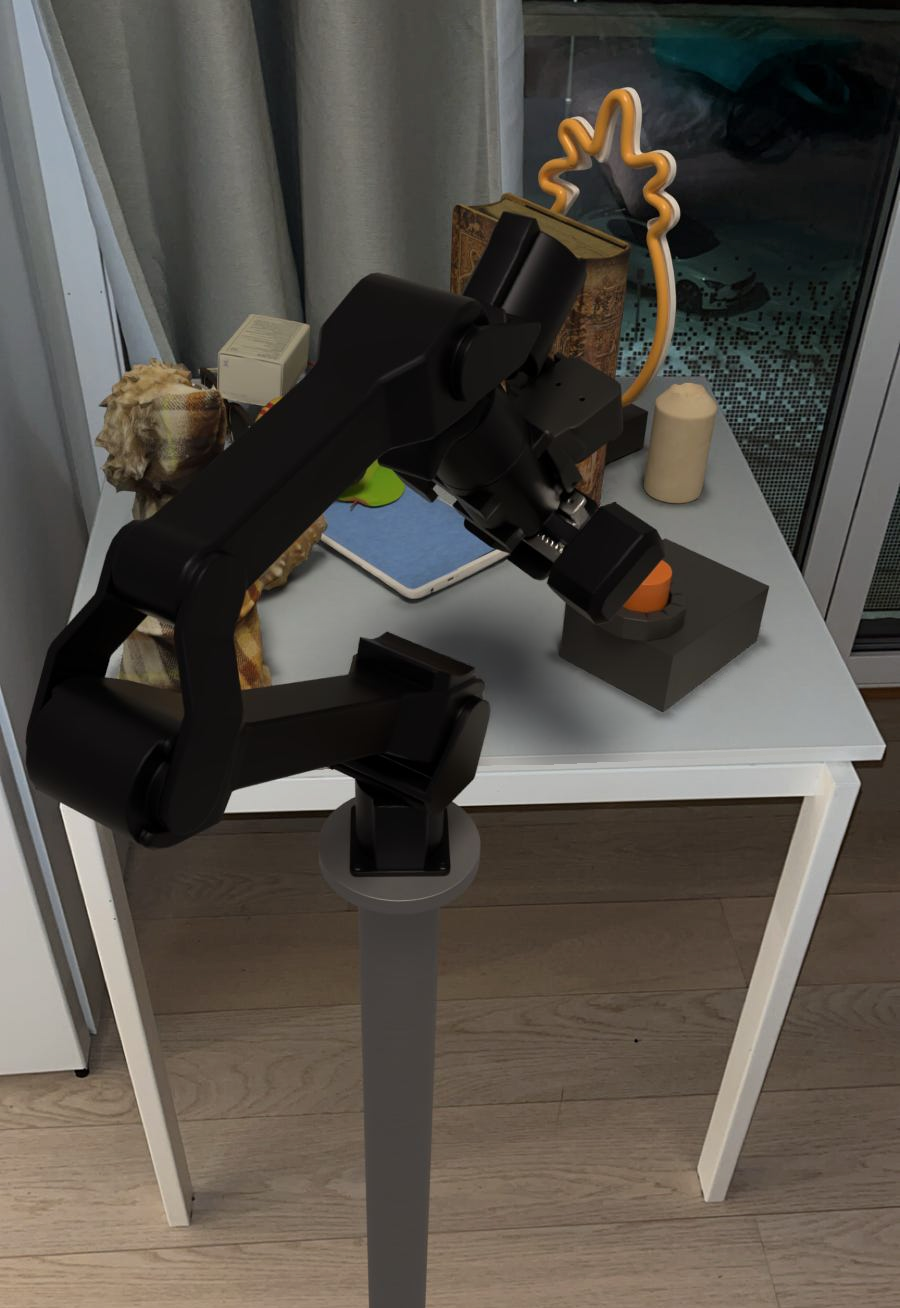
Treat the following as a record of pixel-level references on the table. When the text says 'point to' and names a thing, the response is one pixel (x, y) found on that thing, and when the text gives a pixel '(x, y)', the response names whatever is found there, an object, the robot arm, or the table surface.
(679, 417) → the candle
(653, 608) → the power button
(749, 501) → the table surface
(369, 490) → the decorative leaf
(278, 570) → the seashell
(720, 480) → the table surface
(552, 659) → the table surface
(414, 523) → the tablet
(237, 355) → the cosmetic box
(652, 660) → the button base
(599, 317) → the book
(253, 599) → the brown cream tall piece
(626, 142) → the lamp
